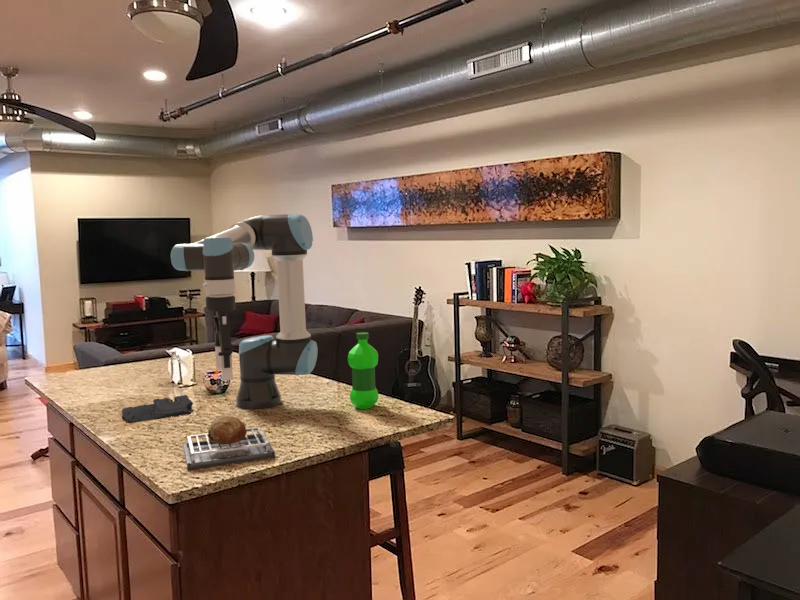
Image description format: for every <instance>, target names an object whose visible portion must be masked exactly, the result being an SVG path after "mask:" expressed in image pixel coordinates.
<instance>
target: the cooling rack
mask: <svg viewBox="0 0 800 600" xmlns="http://www.w3.org/2000/svg"><path fill="white" fill-rule="evenodd" d="M246 431H247V432H252V433H251V434H246V436H245V438H244V439H243V440H241V441H239V442H236V443H232V444H224V445H221V444H218V443H212V442H209V441H208V439H209V438H208V432H207V433H201V434H191V435H187V437H186V438H187V442H183V445H182V446H183V451H184V452H183V453H184V458H185V464H186V468H187V471H191V470H199V469H198V468H200V469H205V468H212V467H213V466H214V467H218V466H219V467H220V466H227V465H226V464H228V465H233V464H232V463H235V464H241V463H240V462H242V463H246V461H247V463H248V461H249V462H254V461H255V460H256V461H262V460H261V459H263V460H269V459H268V458H270V459H275V458H276V452H275V450H274V448H273V447H272V444H270V442H269V439H267V438H268V437H266V435H265V433H264V432H263V430H262V428H261V427H260V426H256V427H248V428H246ZM255 431H256V432H255ZM199 438H206V439H205V440H199ZM192 439H196V441H192ZM214 467H213V468H214Z"/></svg>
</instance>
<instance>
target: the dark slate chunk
mask: <svg viewBox="0 0 800 600" xmlns="http://www.w3.org/2000/svg"><path fill="white" fill-rule="evenodd" d="M173 398H174V400H173V399H171V398H168V397H163V398H154V399H153V401H152V402H153V403H149V404H141V405H140V404H139V405H136V406H128V407H123V408H122V410H121V415H122V416H123V419H124V420H125V422H127V423H130V424H135V423H140V422H148V421H153V420H154V421H155V420H161V418H162V419H167V418H166V417H168V418H172V417H171V416H174V417H179V416H178V415H181V416H186V415H185V414H187V415H191V414H192V413H194V410H193V409H192V408H193V405H194V403H193V401H192V400H191V399H190V398H189V396H188V395H187V394H183V395H179V396H177V395H176V396H174V397H173Z"/></svg>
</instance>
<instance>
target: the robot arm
mask: <svg viewBox="0 0 800 600" xmlns="http://www.w3.org/2000/svg"><path fill="white" fill-rule="evenodd" d="M313 238H314V237H313V231H312V226H311V224H310V222H309V220H308V218H307V217H306V216H304V215H303V214H293V213H289V214H287V213H284V214H260V215H256V216H253V217H249V218H246V219H243V220H240V221H238V222H235V223H233V224H232V225H231V226H230V227H229V229H227V230H224V231H222V232H218V233H216V234H213V235H211V236H207V237H204V238H203V239H200V240H199V241H195V242H193V243H179V244H178V243H177V244H175V245H174V246H173V247H172V249H171V251H170V261H171V265H172V267H173V268H174V269H175V270H177V271H185V272H190V271H192V272H194V271H200V272H201V271H203V273H204V283H202V287H203V288H205V289H204V290H205V295H206V297H205V310H206V311H207V312H211V313H213V317H212V322H213V327H214V328H213V329H214V330H213V334H214V337H213V338H214V340H213V342H214V346H215V347H214V350H215V364H216V365H215V367H216V369H215V370H216V371H221V373H220V374H221V381H230V380H231V381H232V380H234V378H233V377H234V376H233V375H234V373H233V360H232V358H233V357H232V356H233V355H232V354H233V353H234V352H233V346H232V335H231V318H230V316H229V315H228V313H227V312H230V311H234V310H236V296H235V295H234V294H235V293H236V284H235V282H236V281H235V272H234V271H244V270H245V269H249V268H250V267H251V266H252V265H253V263H254V261H255V252H254V250H255V251H256V250H257V251H259V250H260V251H271V257H272V258H273V259H275V261H276V271H277V273H276V274H277V287H278V288H277V289H278V291H277V292H278V293H277V294H278V309H279V311H278V313H279V327H280V332H279V333H277V334H276V336H275V338H274V337H273V335H260V336H259V335H258V336H253V337H249V338H245V339H243V340H241V341H240V342H239V344H238V346H239V347H238V358H239V378H240V385H239V388H238V390H237V395H236V400H235V401H236V402H235V404H236V406H237V407H239V408H241V409H249V410H250V409H251V410H255V409H256V410H257V409H266V408H267V409H268V408H272V407H274V406H275V407H276V406H277V405H279V404H281V402H282V397H281V392H280V390H279V388H278V386H277V382H276V379H275V378H276V376H275V375H283V376H284V375H286V376H307V375H309V374H310V373H312V372H313V371H314V368H315V366H316V363H317V361H318V360H317V359H318V352H319V351H318V343H317V342H316V341H315V340H313V339H312V334H311V333H310V332H309V331H307V325H306V324H307V323H306V322H307V321H306V320H307V319H306V303H305V302H306V301H305V300H306V299H305V282H304V281H305V280H304V276H305V275H304V259H305V258H306V257H307V255H308V250H311V248H312V247H313V241H314V239H313ZM274 339H276V340H274Z"/></svg>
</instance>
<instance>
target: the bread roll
mask: <svg viewBox="0 0 800 600" xmlns="http://www.w3.org/2000/svg"><path fill="white" fill-rule="evenodd" d="M246 429H247V428H246V425H245V423H243V422H242V420H240V418H237V417H235V416H232V415H226V416H220V417H218V418H216V419H214V420H213V421H212V422H211V423H210V426H209V427H208V432H207V433H208V441H209V442H212V443H218V444H221V445H224V444H232V443H236V442H239V441H241V440H243V439H244V438H245V436H246V435H247V432H248V431H246Z"/></svg>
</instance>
